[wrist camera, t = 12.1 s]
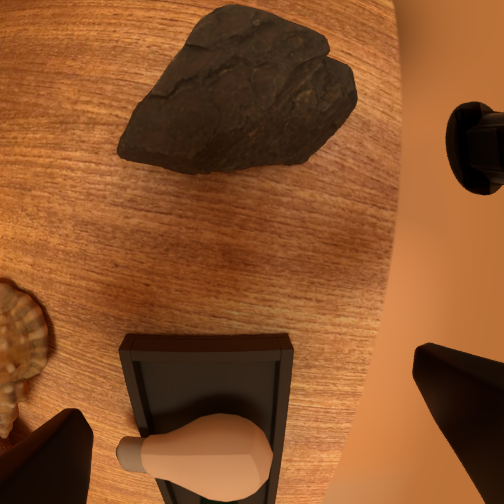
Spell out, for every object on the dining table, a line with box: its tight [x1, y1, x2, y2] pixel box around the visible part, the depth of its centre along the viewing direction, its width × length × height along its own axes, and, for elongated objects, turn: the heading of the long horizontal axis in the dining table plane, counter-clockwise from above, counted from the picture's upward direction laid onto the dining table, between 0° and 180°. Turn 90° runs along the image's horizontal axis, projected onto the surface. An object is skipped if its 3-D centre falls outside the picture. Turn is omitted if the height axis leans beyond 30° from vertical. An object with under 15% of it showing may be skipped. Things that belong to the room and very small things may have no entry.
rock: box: [117, 4, 358, 175], centre depth 15 cm, size 10×6×10 cm
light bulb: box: [116, 413, 273, 502], centre depth 17 cm, size 7×7×11 cm
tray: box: [119, 334, 294, 504], centre depth 22 cm, size 11×32×2 cm, turn 179°
